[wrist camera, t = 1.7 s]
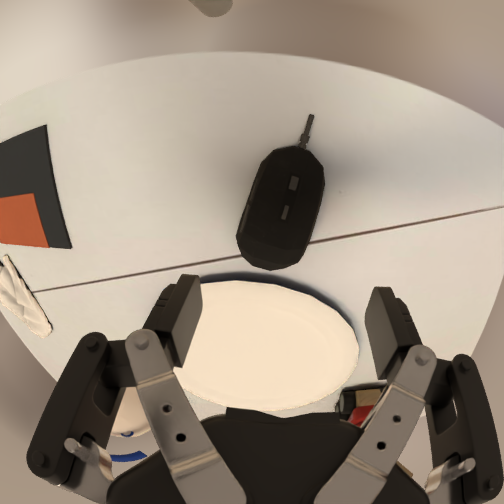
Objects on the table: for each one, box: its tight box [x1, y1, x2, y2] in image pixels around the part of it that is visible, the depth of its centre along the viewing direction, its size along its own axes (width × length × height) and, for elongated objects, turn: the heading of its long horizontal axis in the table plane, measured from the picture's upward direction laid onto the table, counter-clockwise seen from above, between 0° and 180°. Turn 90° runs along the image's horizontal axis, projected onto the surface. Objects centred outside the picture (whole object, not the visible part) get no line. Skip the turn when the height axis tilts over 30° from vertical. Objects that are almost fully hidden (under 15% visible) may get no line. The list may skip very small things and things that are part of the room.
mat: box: [0, 125, 72, 249], centre depth 26 cm, size 16×20×1 cm
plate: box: [173, 279, 359, 411], centre depth 35 cm, size 29×29×2 cm
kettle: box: [109, 387, 151, 462], centre depth 40 cm, size 20×21×18 cm
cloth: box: [0, 256, 52, 339], centre depth 37 cm, size 20×22×2 cm
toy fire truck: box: [335, 388, 413, 478], centre depth 34 cm, size 11×16×18 cm
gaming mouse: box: [236, 114, 325, 271], centre depth 22 cm, size 6×15×4 cm, turn 165°
